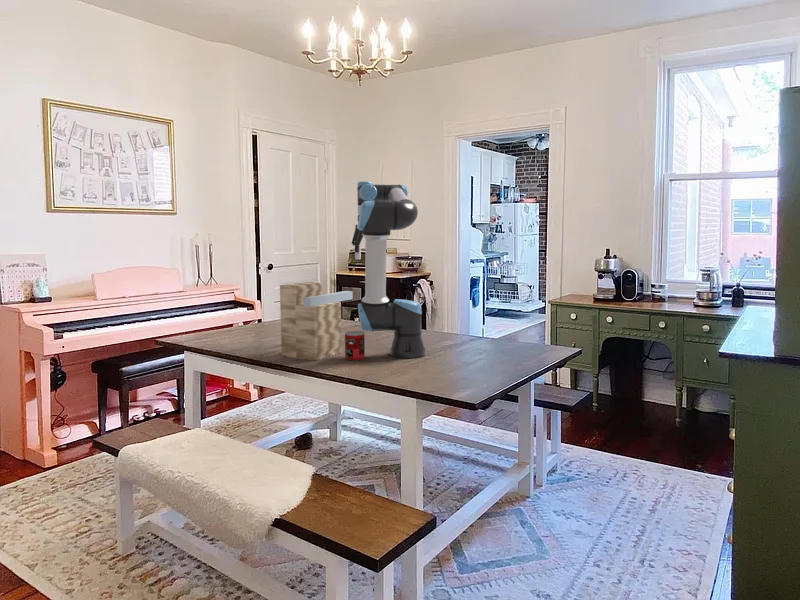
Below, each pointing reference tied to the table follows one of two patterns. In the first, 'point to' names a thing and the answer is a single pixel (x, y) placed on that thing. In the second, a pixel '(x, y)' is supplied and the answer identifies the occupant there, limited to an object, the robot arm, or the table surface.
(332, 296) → the rail
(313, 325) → the stand
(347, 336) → the canned food
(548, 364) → the table surface
